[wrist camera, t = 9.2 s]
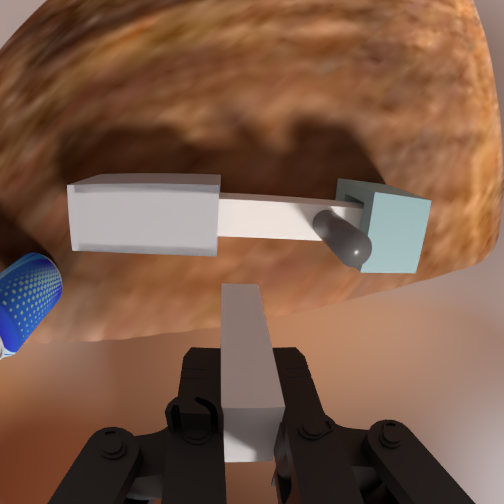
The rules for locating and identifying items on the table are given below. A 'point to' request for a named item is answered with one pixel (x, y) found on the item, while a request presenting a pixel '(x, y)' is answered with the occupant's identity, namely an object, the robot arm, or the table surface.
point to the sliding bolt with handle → (297, 222)
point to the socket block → (388, 224)
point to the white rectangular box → (145, 213)
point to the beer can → (26, 299)
